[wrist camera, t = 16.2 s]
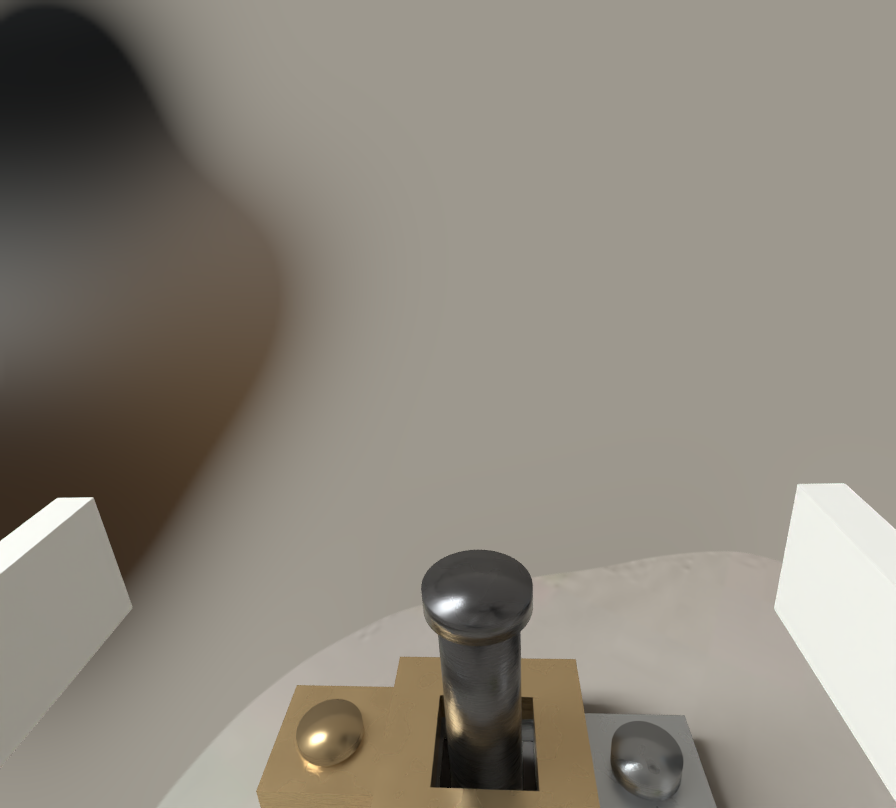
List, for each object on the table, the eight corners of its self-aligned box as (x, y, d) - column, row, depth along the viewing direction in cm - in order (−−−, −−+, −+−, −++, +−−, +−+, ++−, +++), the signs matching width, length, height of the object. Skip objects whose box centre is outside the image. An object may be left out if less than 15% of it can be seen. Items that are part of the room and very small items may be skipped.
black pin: (531, 743, 34) (529, 549, 29) (537, 837, 29) (536, 625, 24) (444, 740, 34) (427, 550, 29) (436, 832, 30) (414, 624, 24)
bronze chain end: (574, 701, 36) (575, 652, 35) (604, 906, 26) (609, 849, 25) (316, 696, 38) (307, 648, 36) (251, 887, 28) (234, 832, 26)
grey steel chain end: (670, 703, 36) (674, 668, 35) (739, 913, 26) (749, 872, 25) (405, 698, 37) (400, 663, 36) (371, 893, 27) (364, 854, 26)
